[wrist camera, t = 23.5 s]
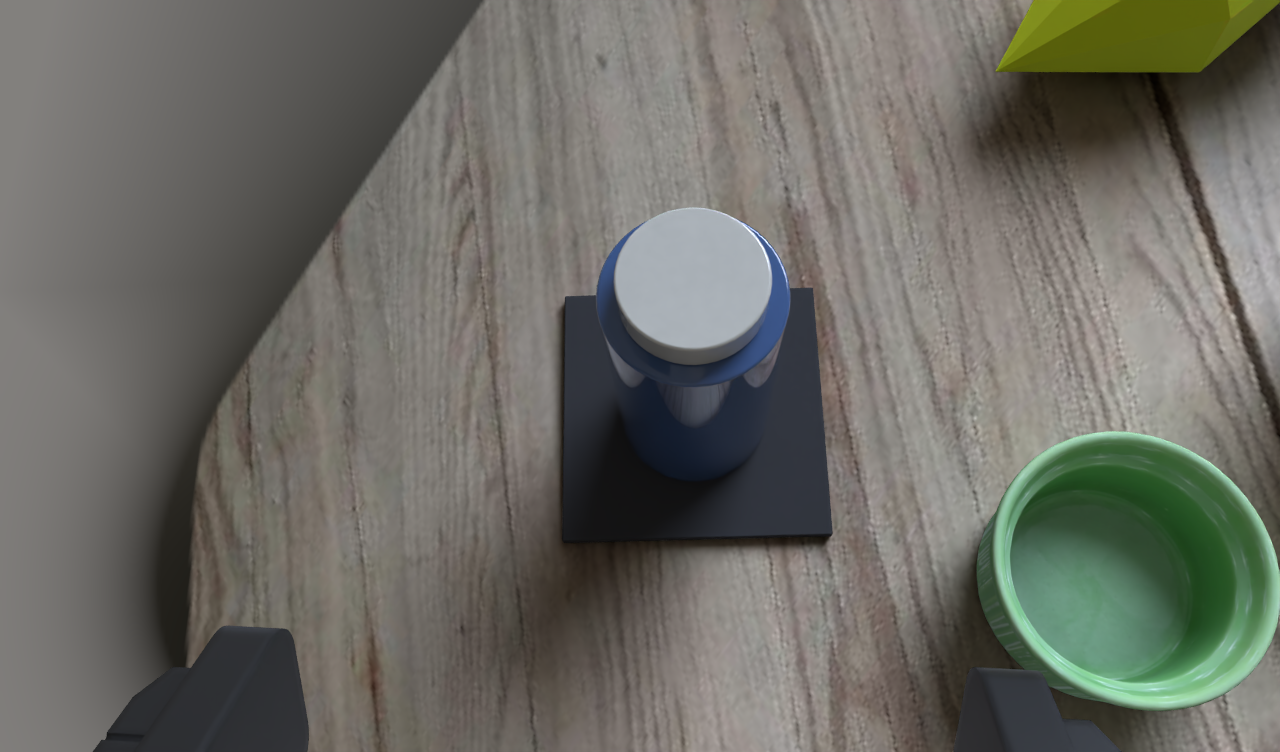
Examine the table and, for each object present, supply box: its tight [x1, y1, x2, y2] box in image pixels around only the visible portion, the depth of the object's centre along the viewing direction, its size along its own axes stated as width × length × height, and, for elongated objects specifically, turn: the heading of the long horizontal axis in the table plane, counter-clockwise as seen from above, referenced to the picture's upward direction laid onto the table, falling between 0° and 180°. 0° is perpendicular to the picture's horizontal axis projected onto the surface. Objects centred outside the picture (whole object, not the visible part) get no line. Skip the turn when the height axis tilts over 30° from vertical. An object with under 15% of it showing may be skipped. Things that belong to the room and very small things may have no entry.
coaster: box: [562, 288, 832, 543], centre depth 40 cm, size 10×10×1 cm
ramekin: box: [977, 431, 1280, 711], centre depth 35 cm, size 9×9×4 cm
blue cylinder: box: [596, 208, 790, 481], centre depth 34 cm, size 6×6×12 cm
